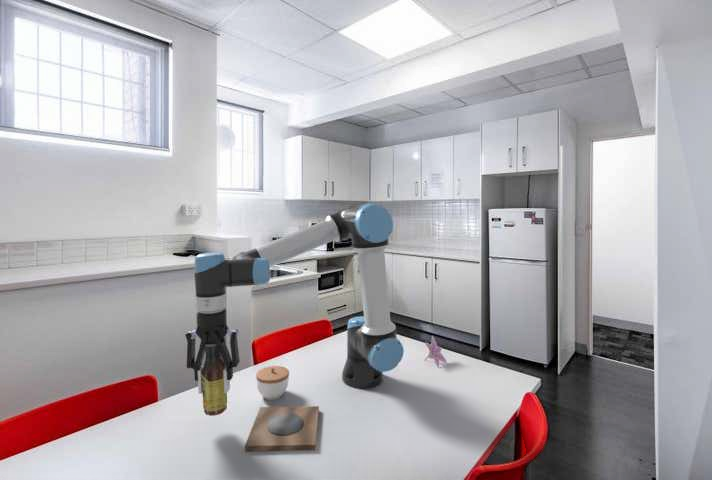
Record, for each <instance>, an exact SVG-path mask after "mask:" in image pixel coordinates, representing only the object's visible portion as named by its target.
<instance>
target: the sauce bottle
mask: <svg viewBox="0 0 712 480" xmlns="http://www.w3.org/2000/svg"><path fill="white" fill-rule="evenodd" d="M204 358H205V361H204V364H203V366H202V367H203V369H202V372H201V374H202V408H203V411H204V414H205V415H206V416H213V417H214V416H218V415H221V414H223V413H224V412H225V411H226V410H227V408H228V406H227V404H228V392H227V393H224V373H223V370H224V369H225V367H226V366H225V364H224V361H223V359H222V356H221V353H220V351H219V348H218V347H217V345H216V344H212V343H211V344H205V356H204Z"/></svg>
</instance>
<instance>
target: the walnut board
mask: <svg viewBox="0 0 712 480" xmlns="http://www.w3.org/2000/svg"><path fill="white" fill-rule="evenodd" d="M319 415H320V406H317V405H316V406H312V405H311V406H309V405H308V406H260V407H259V409H258V413H257V414H256V416H255V419H254V421H253V424H252V426H251V429H250V432H249V434H248V437H247V439H246V442H245V445H244V452H288V451H290V452H292V451H293V452H294V451H297V452H298V451H316V447H317V436H318V435H317V434H318V426H319V424H318V423H319Z"/></svg>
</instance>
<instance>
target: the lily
mask: <svg viewBox="0 0 712 480" xmlns="http://www.w3.org/2000/svg"><path fill="white" fill-rule="evenodd" d="M430 342H431V344H430V343H428V342H427V341H425V342H424V345H425V346H426V347H427V349H428V351H429V352H428V355H427V357H425V359H424V361H427V359H430V360H434V362H435V365H436V366H437V368H438V369H439V367H440V362H442V363H445V364H447V363H448V362H447V359H446V357H445V356H444V355H443V353H442V347H441V346H440V345H439V346H438V344H437V341H436V339H435V337H434V335H431V341H430Z"/></svg>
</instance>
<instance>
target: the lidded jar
mask: <svg viewBox="0 0 712 480" xmlns="http://www.w3.org/2000/svg"><path fill="white" fill-rule="evenodd" d="M289 377H290V371H289V369H288V368H287V367H285V366H281V365H271V366H266V367H265V366H264V367H262V368H261V369H259V370H258V371H257V372H256V375H255V378H256V387H257V390H258V393H259V394H260V395H261V396H263V398H264V399H265V400H270V401H271V400H272V401H273V400H277V399H279V398H281V397H282V395H283V394H284V393H285V392H286V390H287V389H288V385H289V379H290V378H289Z"/></svg>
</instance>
